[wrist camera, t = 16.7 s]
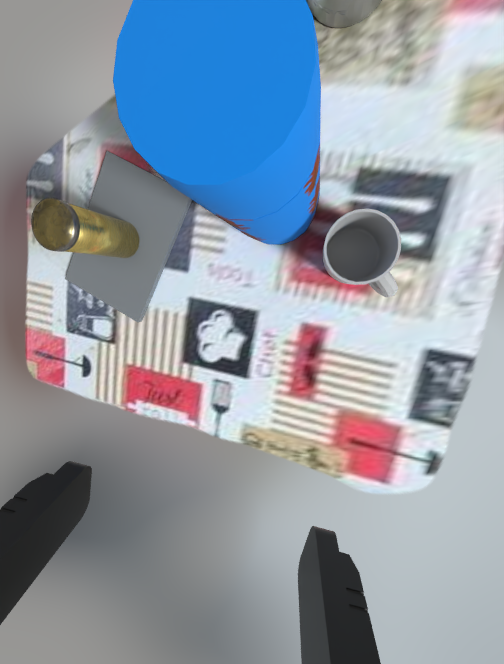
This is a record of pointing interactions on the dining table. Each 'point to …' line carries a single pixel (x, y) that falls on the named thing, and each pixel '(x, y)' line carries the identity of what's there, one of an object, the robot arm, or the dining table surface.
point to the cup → (363, 250)
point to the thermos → (227, 106)
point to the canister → (82, 230)
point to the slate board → (152, 226)
